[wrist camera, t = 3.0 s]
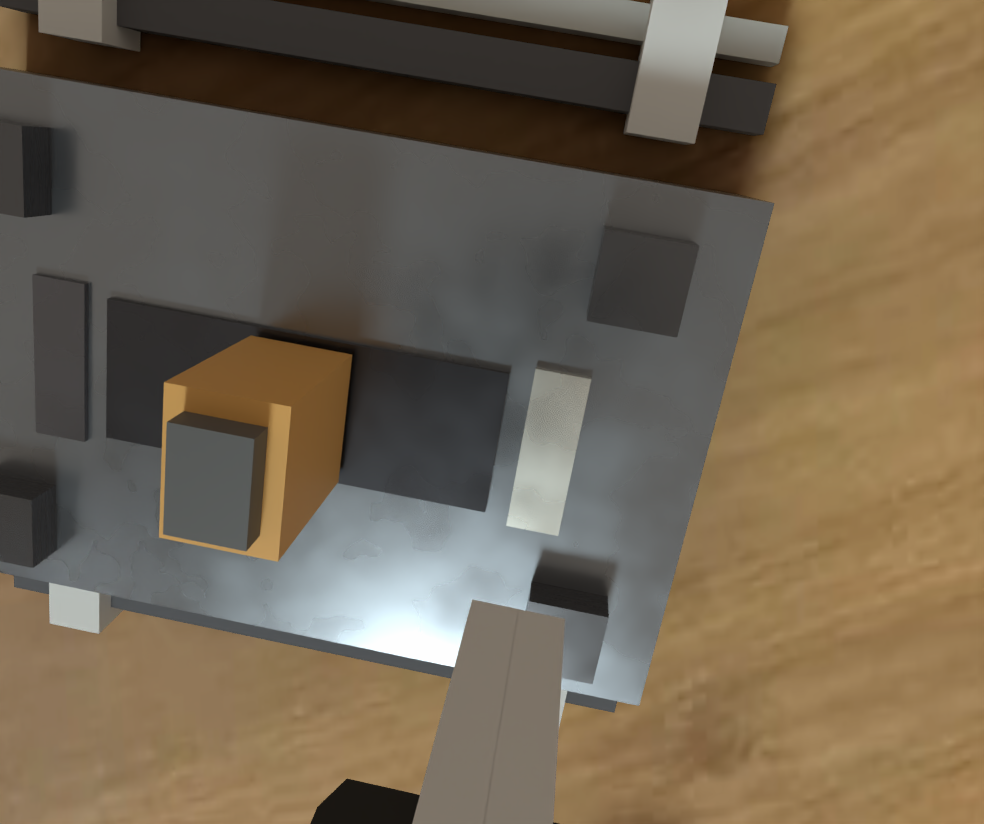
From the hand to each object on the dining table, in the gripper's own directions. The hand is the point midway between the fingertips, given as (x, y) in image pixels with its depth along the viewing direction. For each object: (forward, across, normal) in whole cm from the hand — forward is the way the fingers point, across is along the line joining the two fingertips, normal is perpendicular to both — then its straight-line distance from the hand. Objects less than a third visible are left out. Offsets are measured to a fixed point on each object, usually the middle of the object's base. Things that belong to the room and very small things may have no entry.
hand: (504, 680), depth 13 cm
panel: (+16, -7, 0) cm, 18 cm away
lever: (+11, -7, 0) cm, 13 cm away
